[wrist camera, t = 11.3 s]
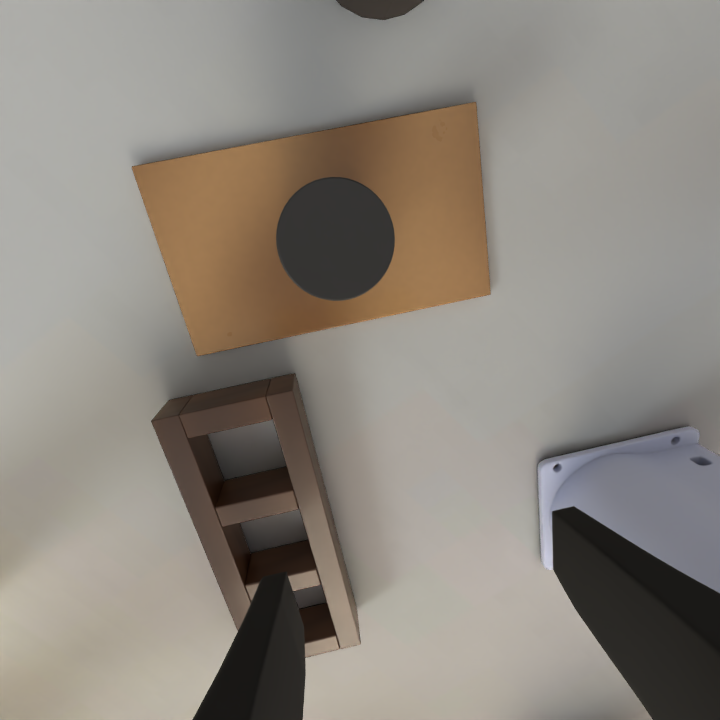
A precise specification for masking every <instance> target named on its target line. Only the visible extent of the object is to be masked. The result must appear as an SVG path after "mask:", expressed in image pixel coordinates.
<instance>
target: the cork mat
mask: <svg viewBox="0 0 720 720" xmlns="http://www.w3.org/2000/svg"><path fill="white" fill-rule="evenodd" d="M132 170H133V173H134V176H135V179H136V181H137V184H138V187H139V190H140V193H141V196H142V199H143V202H144V205H145V207H146V210H147V213H148V216H149V219H150V222H151V225H152V228H153V230H154V233H155V236H156V239H157V242H158V245H159V248H160V251H161V254H162V256H163V259H164V262H165V265H166V268H167V271H168V274H169V277H170V279H171V282H172V285H173V288H174V291H175V294H176V297H177V300H178V303H179V305H180V308H181V311H182V314H183V317H184V320H185V323H186V326H187V329H188V331H189V334H190V337H191V340H192V343H193V346H194V349H195V352H196V354H197V356H201V355H206V354H210V353H215V352H220V351H225V350H229V349H234V348H239V347H244V346H248V345H253V344H258V343H263V342H267V341H272V340H277V339H282V338H286V337H291V336H296V335H301V334H305V333H310V332H315V331H320V330H324V329H329V328H334V327H339V326H343V325H348V324H353V323H358V322H362V321H367V320H372V319H377V318H381V317H386V316H391V315H396V314H400V313H405V312H410V311H415V310H419V309H424V308H429V307H434V306H438V305H443V304H448V303H453V302H457V301H462V300H467V299H472V298H476V297H481V296H486V295H490V294H491V293H490V279H489V266H488V253H487V239H486V226H485V213H484V199H483V186H482V173H481V159H480V146H479V133H478V119H477V106H476V102H472V103H466V104H461V105H456V106H450V107H445V108H440V109H434V110H429V111H424V112H418V113H413V114H408V115H403V116H397V117H392V118H387V119H381V120H376V121H371V122H365V123H360V124H355V125H349V126H344V127H339V128H333V129H328V130H323V131H318V132H312V133H307V134H302V135H296V136H291V137H286V138H280V139H275V140H270V141H264V142H259V143H254V144H249V145H243V146H238V147H233V148H227V149H222V150H217V151H211V152H206V153H201V154H195V155H190V156H185V157H179V158H174V159H169V160H164V161H158V162H153V163H148V164H142V165H137V166H132ZM327 177H342V178H348V179H351V180H354V181H357V182H359V183H361V184H363V185H365V186H366V187H368V188H369V189H371V190H372V191H373V192H374V193H375V194H376V195H377V196H378V197H379V198H380V199H381V200H382V202H383V203H384V205H385V206H386V208H387V210H388V212H389V214H390V217H391V220H392V222H393V227H394V234H395V247H394V253H393V257H392V260H391V263H390V265H389V268H388V270H387V271H386V273H385V275H384V276H383V277H382V279H381V280H380V281H379V282H378V283H377V284H376V285H375V286H374V287H373V288H372V289H370V290H369V291H368V292H366V293H364V294H363V295H361V296H358V297H356V298H353V299H349V300H343V301H330V300H324V299H320V298H317V297H315V296H312V295H310V294H308V293H307V292H305V291H303V290H302V289H301V288H299V287H298V286H297V285H296V284H295V283H294V282H293V281H292V280H291V278H290V277H289V276H288V275H287V273H286V271H285V270H284V268H283V266H282V264H281V262H280V258H279V255H278V251H277V246H276V231H277V225H278V220H279V217H280V215H281V212H282V210H283V208H284V206H285V205H286V203H287V202H288V200H289V199H290V198H291V197H292V195H293V194H294V193H295V192H297V191H298V190H299V189H300V188H301V187H303V186H305V185H306V184H308V183H310V182H312V181H315V180H318V179H321V178H327Z"/></svg>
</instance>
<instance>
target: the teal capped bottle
mask: <svg viewBox="0 0 720 720" xmlns="http://www.w3.org/2000/svg"><path fill="white" fill-rule="evenodd" d="M276 246H277V251H278V255H279V258H280V262H281V264H282V266H283V268H284V270H285V271H286V273H287V275H288V276H289V277H290V278H291V280H292V281H293V282H294V283H295V284H296V285H297V286H298V287H299V288H301V289H302V290H303V291H305V292H307V293H308V294H310V295H312V296H315V297H317V298H320V299H324V300H330V301H343V300H349V299H353V298H356V297H358V296H361V295H363V294H364V293H366V292H368V291H369V290H370V289H372V288H373V287H374V286H375V285H376V284H377V283H378V282H379V281H380V280H381V279H382V277H383V276H384V275H385V273H386V271H387V270H388V268H389V265H390V263H391V260H392V257H393V253H394V247H395V234H394V227H393V222H392V220H391V217H390V214H389V212H388V210H387V208H386V206H385V205H384V203H383V202H382V200H381V199H380V198H379V197H378V196H377V195H376V194H375V193H374V192H373V191H372V190H371V189H369V188H368V187H366V186H365V185H363V184H361V183H359V182H357V181H354V180H351V179H348V178H342V177H327V178H321V179H318V180H315V181H312V182H310V183H308V184H306V185H305V186H303V187H301V188H300V189H299V190H298V191H297V192H295V193H294V194H293V195H292V197H291V198H290V199H289V200H288V202H287V203H286V205H285V206H284V208H283V210H282V212H281V215H280V217H279V220H278V225H277V231H276Z"/></svg>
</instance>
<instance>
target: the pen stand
mask: <svg viewBox="0 0 720 720" xmlns="http://www.w3.org/2000/svg"><path fill="white" fill-rule="evenodd" d="M272 419H273V421H274V425H275V428H276V432H277V435H278V438H279V442H280V445H281V449H282V452H283V455H284V459H285V462H286V466H287V467H283V468H278V469H274V470H269V471H265V472H260V473H256V474H252V475H247V476H243V477H238V478H234V479H229V480H226V481H224V479H223V476H222V473H221V471H220V468H219V465H218V462H217V460H216V457H215V454H214V451H213V449H212V446H211V443H210V440H209V438H208V435H207V434H210V433H214V432H219V431H223V430H228V429H232V428H237V427H242V426H246V425H251V424H255V423H260V422H264V421H269V420H272ZM151 422H152V424H153V427H154V429H155V432H156V434H157V436H158V439H159V441H160V444H161V446H162V449H163V451H164V453H165V456H166V458H167V461H168V463H169V466H170V468H171V470H172V473H173V475H174V478H175V480H176V483H177V485H178V487H179V490H180V492H181V495H182V497H183V499H184V502H185V504H186V507H187V509H188V512H189V514H190V516H191V519H192V521H193V524H194V526H195V529H196V531H197V533H198V536H199V538H200V541H201V543H202V545H203V548H204V550H205V553H206V555H207V558H208V560H209V562H210V565H211V567H212V570H213V572H214V575H215V577H216V579H217V582H218V584H219V587H220V589H221V591H222V594H223V596H224V599H225V601H226V604H227V606H228V608H229V611H230V613H231V616H232V618H233V621H234V623H235V625H236V628H237V630H239V628H240V626H241V624H242V622H243V620H244V617H245V615H246V613H247V611H248V608H249V606H250V604H251V602H252V599H253V597H254V595H255V592H256V590H257V587H258V585H259V583H260V580H261V579H262V578H263V576H268V575H272V574H277V573H281V572H285V571H287V574H288V578H289V581H290V584H291V587H292V590H293V591H297V590H301V589H306V588H310V587H314V586H318V585H321V584H322V588H323V591H324V595H325V598H326V601H327V603H324V604H320V605H316V606H312V607H308V608H304V609H300V610H299V612H300V615H301V619H302V622H303V625H304V638H305V658H306V657H310V656H314V655H318V654H322V653H326V652H330V651H334V650H339V649H344V648H348V647H352V646H356V645H360V644H361V641H360V632H359V623H358V614H357V608H356V604H355V600H354V596H353V592H352V589H351V585H350V581H349V577H348V573H347V569H346V566H345V562H344V558H343V554H342V550H341V546H340V543H339V539H338V535H337V531H336V527H335V524H334V520H333V516H332V512H331V508H330V504H329V501H328V497H327V493H326V489H325V485H324V481H323V478H322V474H321V470H320V466H319V462H318V458H317V455H316V451H315V447H314V443H313V439H312V436H311V432H310V428H309V424H308V420H307V416H306V413H305V409H304V405H303V401H302V397H301V393H300V390H299V386H298V382H297V378H296V374H295V373H293V374H289V375H284V376H279V377H275V378H271V379H265V380H261V381H256V382H251V383H247V384H242V385H237V386H233V387H228V388H223V389H219V390H214V391H209V392H205V393H200V394H195V395H190V396H186V397H181V398H176V399H172V400H169V401H168V402H167V403H166V404H165V405H164V406H163V408H162V409H161V410H160V411H159V412H158V414H157V415H156V416H155V417H154V418H153V419H152V421H151ZM298 509H299V510H300V513H301V516H302V520H303V523H304V527H305V530H306V533H307V537H308V540H305V541H301V542H297V543H293V544H288V545H284V546H280V547H275V548H271V549H267V550H263V551H258V552H254V553H250V551H249V548H248V545H247V542H246V540H245V537H244V534H243V531H242V529H241V526H240V523H242V522H246V521H250V520H255V519H259V518H263V517H268V516H272V515H276V514H281V513H285V512H289V511H294V510H298Z"/></svg>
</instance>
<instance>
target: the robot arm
mask: <svg viewBox="0 0 720 720" xmlns="http://www.w3.org/2000/svg"><path fill="white" fill-rule="evenodd" d="M698 443H699V431H698V430H697V429H695V428H693V427H691V426H687V427H682V428H678V429H674V430H669V431H665V432H661V433H656V434H652V435H648V436H643V437H639V438H635V439H630V440H626V441H622V442H617V443H613V444H609V445H604V446H600V447H596V448H591V449H587V450H583V451H578V452H574V453H570V454H565V455H561V456H557V457H552V458H548V459H544V460H542V461H541V462H540V463H539V465H538V468H537V471H538V495H539V520H540V544H541V562H542V565H543V566H544V567H545V568H546V569H548V570H552V569H553V570H554V572H555V574H556V575H557V577H558V579H559V581H560V583H561V585H562V586H563V588H564V590H565V592H566V593H567V595H568V597H569V599H570V600H571V602H572V604H573V606H574V607H575V609H576V611H577V612H578V613H579V615H580V616H581V618H582V619H583V621H584V622H585V624H586V625H587V626H588V628H589V629H590V631H591V632H592V634H593V635H594V636H595V638H596V639H597V641H598V642H599V643H600V645H601V646H602V648H603V649H604V651H605V652H606V653H607V655H608V656H609V658H610V659H611V660H612V662H613V663H614V665H615V666H616V667H617V669H618V670H619V672H620V673H621V674H622V676H623V677H624V679H625V680H626V681H627V683H628V684H629V686H630V687H631V689H632V690H633V691H634V693H635V694H636V696H637V697H638V698H639V700H640V701H641V703H642V704H643V705H644V707H645V708H646V710H647V711H648V713H649V714H650V716H651V717H652V719H653V720H720V456H719V455H717V454H716V453H714V452H712V451H710V450H709V449H707V448H705V447H703V446H701V445H700V444H698ZM557 464H558V465H557ZM555 465H557V466H556V467H555V468H554V466H555ZM304 689H305V638H304V625H303V622H302V619H301V615H300V612H299V609H298V606H297V603H296V600H295V597H294V593H293V590H292V587H291V584H290V581H289V578H288V574H287V571H285V572H281V573H277V574H272V575H268V576H263V578H262V579H261V580H260V583H259V585H258V587H257V590H256V592H255V595H254V597H253V599H252V602H251V604H250V606H249V608H248V611H247V613H246V615H245V617H244V620H243V622H242V624H241V626H240V628H239V630H238V633H237V635H236V637H235V639H234V641H233V643H232V645H231V647H230V649H229V651H228V653H227V655H226V657H225V659H224V661H223V663H222V666H221V668H220V669H219V671H218V673H217V675H216V677H215V679H214V681H213V683H212V685H211V687H210V688H209V690H208V692H207V694H206V696H205V698H204V700H203V701H202V703H201V705H200V707H199V709H198V711H197V713H196V714H195V716H194V718H193V720H302V719H303V704H304Z"/></svg>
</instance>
